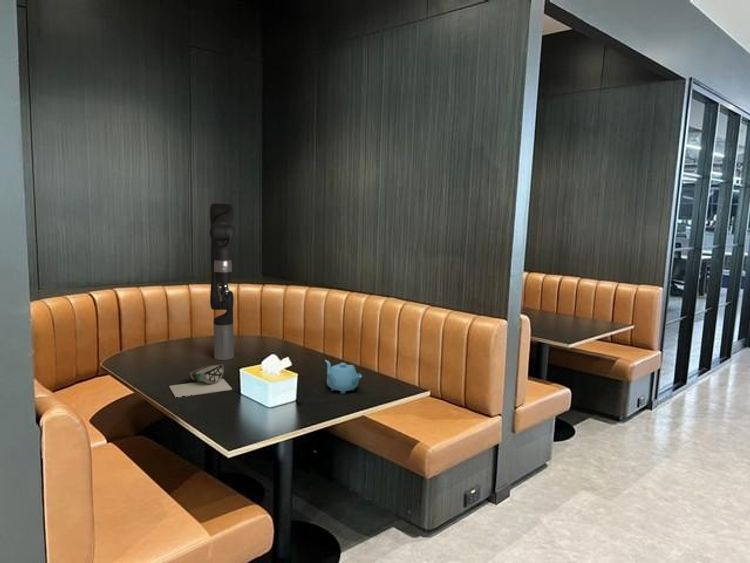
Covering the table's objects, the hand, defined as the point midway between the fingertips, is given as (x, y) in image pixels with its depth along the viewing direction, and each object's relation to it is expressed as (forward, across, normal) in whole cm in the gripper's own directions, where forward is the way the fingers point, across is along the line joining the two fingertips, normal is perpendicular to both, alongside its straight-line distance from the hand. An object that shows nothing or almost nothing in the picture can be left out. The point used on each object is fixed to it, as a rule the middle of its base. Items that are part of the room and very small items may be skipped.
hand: (223, 309), depth 240 cm
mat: (+29, -16, +14) cm, 36 cm away
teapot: (+29, -43, -37) cm, 64 cm away
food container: (+27, -6, +13) cm, 31 cm away
